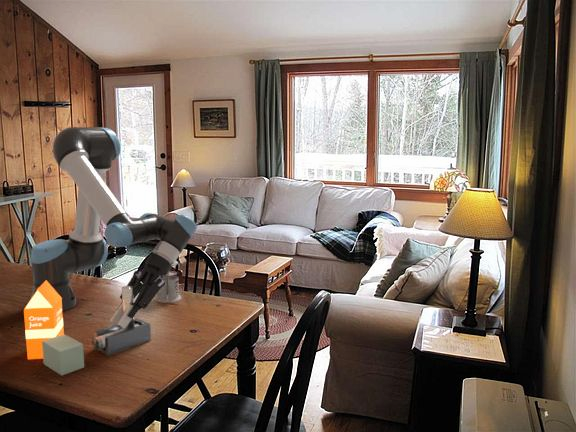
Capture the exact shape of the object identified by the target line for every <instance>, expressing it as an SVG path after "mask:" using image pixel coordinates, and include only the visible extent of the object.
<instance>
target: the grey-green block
mask: <svg viewBox="0 0 576 432" xmlns="http://www.w3.org/2000/svg"><path fill="white" fill-rule="evenodd" d="M42 349H43V359H42V360H43V362H42V363H43V365H45V366H46V367H48V368H49V369H51V370H52V371H53V372H55V373H57V374H58V375H60V376H64V375H68V374H70V373H72V372H75V371H78V370H81V369H83V368H85V355H84V353H85V352H84V344H83V343H82V342H80V341H78V340H76V339H74V338H73V337H71V336H69V335H67V334H65V333H64V334H63V335H60V336H57V337H54V338H50V339H47V340H44V341H42Z"/></svg>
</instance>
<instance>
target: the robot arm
mask: <svg viewBox="0 0 576 432" xmlns="http://www.w3.org/2000/svg"><path fill="white" fill-rule="evenodd" d="M121 150H122V149H121V143H120V140H119V137H118V136H117V134H116V132H115V131H114V130H112V129H111V128H108V127H101V126H92V127H91V126H88V127H86V126H81V127H80V126H70V127H67V128H66V127H65V128H64V129H62V130H60V132H58V133H57V135H56V136H55V137H54V140H53V143H52V153H53V157H54V160H55V162H56V164H57V165H58V166H59V168H60V170H61V171H63V172H65V173H68V175H69V177H71V179H72V181H73V182H74V183H75V185H76V186H77V187H78V188H77V189H78V190H77V192H78V193H77V197H76V198H77V200H76V208H75V209H76V210H75V218H74V228H73V229H74V230H72V231H70V232H69V233H68V241H67V240H66V239H61V238H59V239H58V238H57V239H50V240H49V239H48V240H44V241H41V242H39V243H37V244H35V245H34V246H33V247H32V248H31V254H30V255H31V256H30V261H31V268H32V269H31V270H32V281H33V288H32V293H31V296H30V299H31V298H32V297H33V296H34V294H35V293H36V291H37V289H38V288H39V287H40V286H41V285H42V284H43V283H44V282H45V281H46V280H47V282H48V283H49V284H50V285H51V286H52V287H53V289H54V290H55V291H56V292H57V293H58V294H59V296H60V297H61V298H62V312H65V311H68V310H70V309H71V310H72V309H73V308H75V307H76V305H77V298H76V297H77V296H76V295H75V293H74V291H73V288H72V286H71V281H70V275H71V274H74V273H79V272H83V271H86V270H93V269H95V268H97V267H99V266H101V265H103V264H104V263H105V262H106V260H107V257H108V253H109V250H108V249H109V248H108V246H107V244H108V245H109V246H111V247H113V248H120V247H121V248H122V247H123V248H124V247H128V246H131V245H134V244H139V243H143V242H148V241H152V240H159V242H158V243H157V244H156V246H155V247H154V248H153V250H152V253H151V254H150V255H149V256H148V257H147V259H146V260H145V267H144V268H143V269H141V271H138V270H134V271H133V275H132V277H131V279H130V280H129V282H128V283H127V285H126V286H132V287H133V297H134V303H132V305H133V306H132V305H130V306H129V308H128V309H127V311H126V312H125V313H124V315H123V305H122V302H121V303H120V304H119V306H118V307H117V308H116V309H115V310H116V311H115V312H114V314H113V316H112V317H111V318H110V319H109V322H111V323H112V324H114V325H119V326H121V327H122V328H124V329H125V328H126V327H127V325H128V324H129V322H130V321H131V319H132V318H133V317H134V318H135V316H136V314H137V312H139V311H140V310H145V309H147V307H148V306H149V304H150V303H152V300H153V299H155V298H156V297H155V296H156V295H158V294H157V293H159V292H160V291H159V290H160V289H161V288H162V287H163V286H164V285H165V282H164V281H163V280H162V277H163V275H167V273H168V272H169V271H171V269H172V267H173V266H172V265H171V264H174V262H175V261H177V259H178V258H179V256H180V255H181V253H182V252H183V250H184V249H185V248H186V247H187V244H188V243H189V242H190V240H191V239H192V238H193V236H194V234H195V232H196V230H197V229H198V228H197V227H198V225H197V223H196V222H195V220H194V219H192V218H190V217H189V216H187V215H185V214H178V215H177V216H176V217H175V218H174V219H172V218H171V219H170V218H168V217H165V216H161V215H159V214H156V213H152V212H147V213H143V214H142V215H140V217H139V218H136V219H135V218H134V219H132V218H131V216H130V215H129V214H128V212H127V211H126V209H125V208H124V207H123V206H122V205H121V203H120V201H119V200H118V199H117V197H116V196H115V194H114V193H113V192H112V190H111V189H110V188H109V186H108V185H107V183H106V176H107V175H106V174H107V171H109V170H110V169H111V168H112V163H113V161H115V160H117V159H118V158H119V156H120V154H121ZM101 221H102V223H103V224H104V225H105V226H106V227H105V230H104V237H105V238H106V239H104V237H103V235H102V233H100V226H101ZM158 291H159V292H158ZM119 298H120V300H121V301H122V293H121V294H120V296H119Z"/></svg>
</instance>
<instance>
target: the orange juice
mask: <svg viewBox="0 0 576 432" xmlns="http://www.w3.org/2000/svg"><path fill="white" fill-rule="evenodd" d="M23 316H24V317H23V318H24V328H25V331H24V332H25V334H24V335H25V342H26V352H27V353H26V355H27V356H26V357H27V360H40V359H42V360H43V349H42V341H44V340H47V339H50V338H54V337H57V336H60V335H63V334H65V332H64V330H65V329H64V317H63V316H64V315H63V311H62V298H61V297H60V296H59V294H58V293H57V292H56V291H55V290H54V289H53V287H52V286H51V285H50V284H49V283H48V282H47V280H46V281H45V282H44V283H43V284H42V285H41V286H40V287H39V288H38V289H37V291H36V293H35V294H34V296H33V297H32V298H31V297H30V300H29V302H27V305H26V306H25V307H24V309H23Z"/></svg>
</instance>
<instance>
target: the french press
mask: <svg viewBox="0 0 576 432" xmlns="http://www.w3.org/2000/svg"><path fill="white" fill-rule="evenodd" d="M178 264H179V262H178V261H177V260H176V261H175V262H174V264H171V265H172V267H175V266H178ZM162 280H163V281H164V282H165V285H164V286H163V287H162V288H161V289H160V290H159V291H158V293H157V294H156V295H157V296H156V297H154V300H155V301H156V302H157V303H164V304H165V303H167V304H168V303H175V302H178V301H180V300H182V296H181V295H180V293H179V292H180V291H179V289H180V288H179V276H178V272H177V271H172V270H169V272H168V273H167V275H163V277H162Z"/></svg>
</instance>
